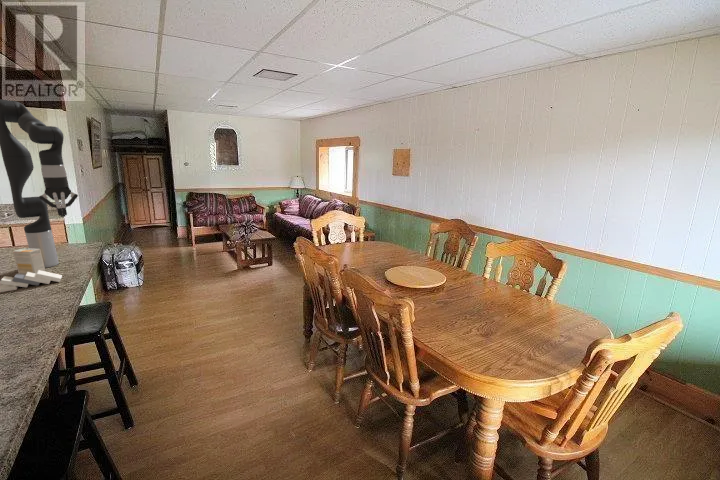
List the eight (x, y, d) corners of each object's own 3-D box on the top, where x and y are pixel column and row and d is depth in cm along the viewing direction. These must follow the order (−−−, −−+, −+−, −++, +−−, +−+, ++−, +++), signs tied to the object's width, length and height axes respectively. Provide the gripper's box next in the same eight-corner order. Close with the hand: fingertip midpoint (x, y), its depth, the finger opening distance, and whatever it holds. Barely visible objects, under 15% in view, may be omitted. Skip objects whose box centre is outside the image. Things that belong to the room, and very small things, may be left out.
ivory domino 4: (60, 278, 148) (36, 273, 143) (62, 275, 148) (38, 270, 143) (59, 282, 144) (35, 277, 139) (61, 278, 144) (36, 273, 139)
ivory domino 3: (50, 280, 145) (25, 275, 140) (52, 277, 145) (27, 271, 140) (48, 284, 141) (23, 279, 136) (50, 280, 142) (25, 275, 136)
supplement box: (47, 276, 149) (41, 248, 146) (36, 280, 145) (29, 251, 141) (30, 275, 150) (24, 247, 147) (19, 279, 145) (11, 250, 142)
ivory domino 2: (19, 285, 140) (-9, 290, 135) (18, 282, 139) (-10, 286, 135) (16, 289, 136) (-12, 294, 131) (15, 286, 135) (-13, 290, 131)
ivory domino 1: (29, 283, 141) (2, 279, 136) (30, 280, 142) (4, 276, 136) (26, 287, 138) (-1, 283, 133) (28, 283, 138) (1, 279, 133)
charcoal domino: (39, 281, 143) (14, 276, 138) (41, 278, 144) (16, 273, 138) (38, 285, 140) (12, 280, 134) (39, 282, 140) (14, 277, 135)
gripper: (32, 177, 134) (42, 219, 138) (75, 176, 142) (83, 216, 147) (33, 175, 139) (42, 216, 143) (74, 174, 147) (82, 213, 152)
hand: (63, 216), depth 145 cm, fingers closed
